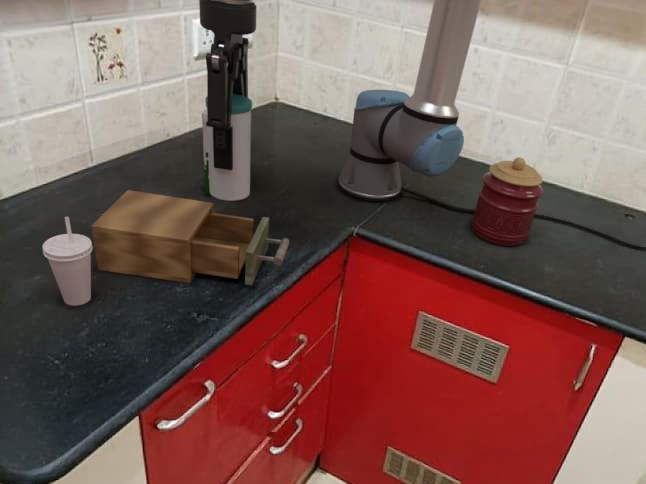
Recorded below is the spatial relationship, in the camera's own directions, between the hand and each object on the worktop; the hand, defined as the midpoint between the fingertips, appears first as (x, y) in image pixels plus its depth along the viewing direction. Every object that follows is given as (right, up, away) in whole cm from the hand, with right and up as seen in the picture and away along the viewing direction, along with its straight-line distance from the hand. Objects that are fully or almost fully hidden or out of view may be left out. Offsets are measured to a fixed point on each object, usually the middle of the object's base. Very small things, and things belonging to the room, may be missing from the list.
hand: (229, 159), depth 88 cm
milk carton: (-10, 0, +35) cm, 36 cm away
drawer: (-2, -16, +10) cm, 19 cm away
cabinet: (-15, -15, +10) cm, 23 cm away
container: (-1, -5, +3) cm, 6 cm away
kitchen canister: (+51, -8, +37) cm, 63 cm away
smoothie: (-23, -22, -2) cm, 32 cm away
